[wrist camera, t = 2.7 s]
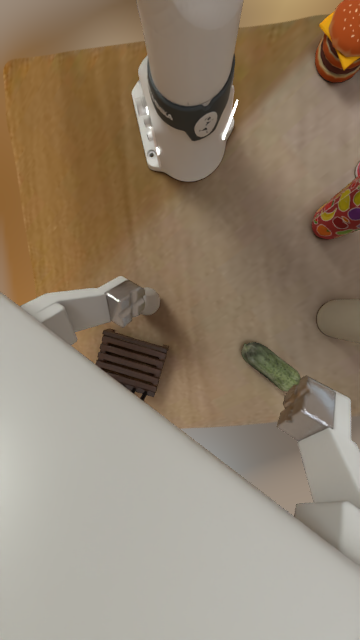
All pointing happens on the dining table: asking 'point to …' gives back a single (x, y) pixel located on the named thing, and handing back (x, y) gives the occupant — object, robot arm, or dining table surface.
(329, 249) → the dining table surface
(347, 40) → the hamburger
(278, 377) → the vegetable
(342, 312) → the travel mug
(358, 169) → the pill bottle
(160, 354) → the drying rack
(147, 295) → the salt shaker
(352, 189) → the smoothie
